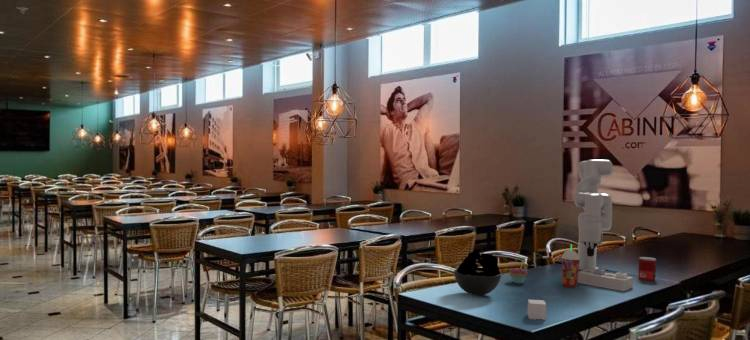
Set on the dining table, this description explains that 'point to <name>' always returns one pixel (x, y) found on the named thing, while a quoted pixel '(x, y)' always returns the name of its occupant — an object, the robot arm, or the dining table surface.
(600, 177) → the robot arm
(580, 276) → the keypad
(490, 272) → the coal bowl
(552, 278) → the dining table surface
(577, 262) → the smoothie
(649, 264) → the canned food
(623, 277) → the key ivory
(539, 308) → the grey cube
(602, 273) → the key slate
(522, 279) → the cupcake
